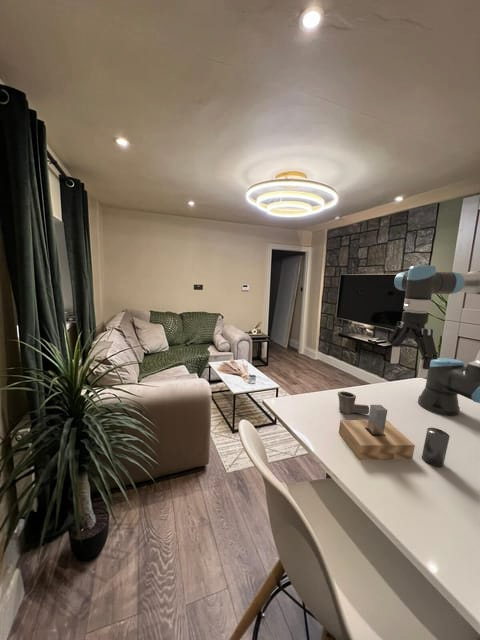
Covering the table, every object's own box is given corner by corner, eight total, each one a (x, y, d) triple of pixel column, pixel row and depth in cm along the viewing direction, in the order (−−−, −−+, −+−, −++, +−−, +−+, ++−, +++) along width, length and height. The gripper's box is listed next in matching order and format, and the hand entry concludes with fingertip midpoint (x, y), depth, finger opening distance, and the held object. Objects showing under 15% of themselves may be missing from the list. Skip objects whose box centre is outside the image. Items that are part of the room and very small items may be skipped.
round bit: (433, 455, 86) (439, 427, 84) (447, 467, 80) (454, 438, 79) (417, 455, 85) (422, 427, 84) (431, 467, 80) (437, 438, 78)
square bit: (374, 441, 91) (380, 404, 89) (381, 448, 88) (387, 410, 85) (365, 441, 91) (370, 404, 88) (370, 448, 87) (377, 410, 85)
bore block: (385, 432, 97) (387, 420, 96) (412, 459, 83) (415, 445, 82) (338, 432, 95) (340, 420, 94) (358, 459, 82) (360, 445, 81)
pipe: (369, 418, 106) (372, 400, 105) (336, 413, 109) (338, 396, 107) (365, 411, 112) (368, 394, 111) (334, 406, 115) (336, 389, 113)
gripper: (382, 306, 101) (376, 358, 105) (436, 317, 77) (425, 385, 81) (400, 306, 102) (393, 358, 106) (459, 317, 77) (447, 384, 81)
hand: (407, 369), depth 93 cm, fingers open, 13 cm apart
